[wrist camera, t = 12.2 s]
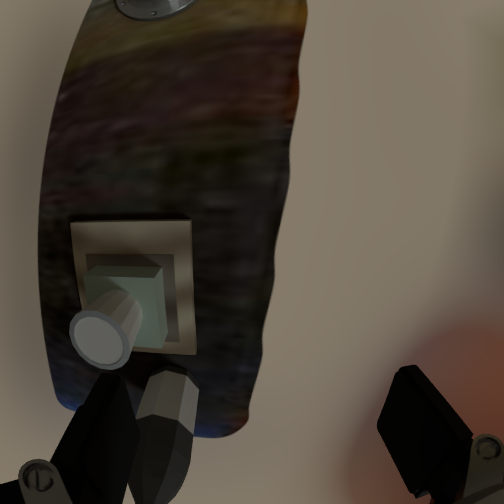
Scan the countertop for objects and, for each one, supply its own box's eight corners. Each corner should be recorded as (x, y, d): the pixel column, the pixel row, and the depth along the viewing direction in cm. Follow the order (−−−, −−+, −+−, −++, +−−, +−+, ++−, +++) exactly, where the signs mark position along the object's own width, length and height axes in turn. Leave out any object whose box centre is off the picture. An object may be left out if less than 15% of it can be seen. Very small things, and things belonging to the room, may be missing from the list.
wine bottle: (210, 382, 42) (200, 573, 13) (183, 409, 43) (160, 577, 14) (164, 354, 40) (109, 549, 11) (140, 385, 41) (86, 552, 12)
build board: (75, 221, 34) (70, 223, 33) (191, 219, 35) (189, 221, 34) (94, 341, 39) (90, 346, 37) (196, 348, 40) (195, 355, 38)
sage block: (96, 265, 34) (82, 275, 30) (162, 266, 35) (154, 278, 31) (106, 327, 37) (95, 342, 33) (167, 332, 37) (161, 348, 33)
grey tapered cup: (146, 342, 33) (130, 377, 26) (95, 330, 32) (72, 360, 26) (149, 290, 31) (130, 319, 25) (94, 279, 31) (66, 303, 24)
